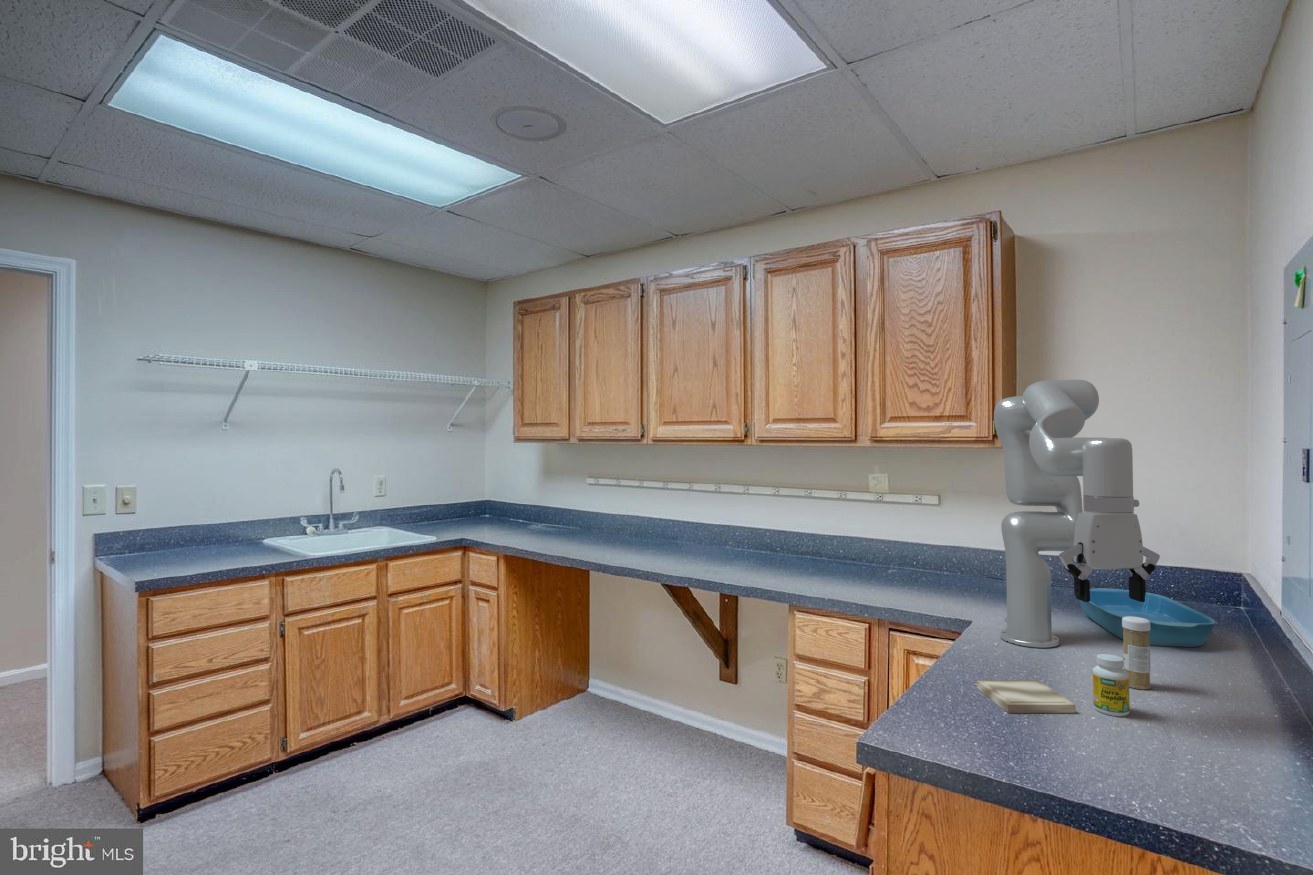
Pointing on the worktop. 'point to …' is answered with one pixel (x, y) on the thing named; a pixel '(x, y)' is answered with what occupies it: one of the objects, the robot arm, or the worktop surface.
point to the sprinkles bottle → (1136, 651)
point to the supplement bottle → (1111, 686)
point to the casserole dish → (1149, 617)
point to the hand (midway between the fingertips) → (1109, 600)
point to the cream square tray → (1025, 696)
